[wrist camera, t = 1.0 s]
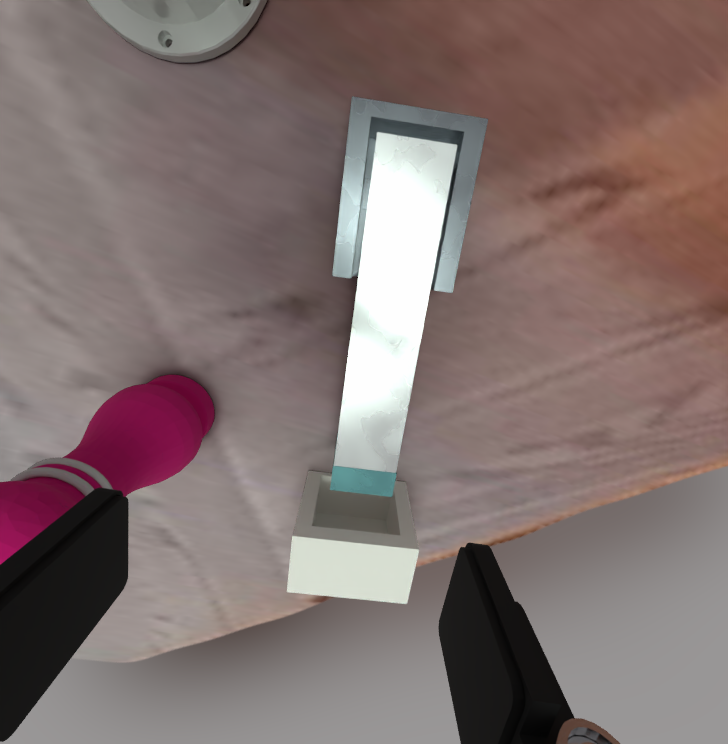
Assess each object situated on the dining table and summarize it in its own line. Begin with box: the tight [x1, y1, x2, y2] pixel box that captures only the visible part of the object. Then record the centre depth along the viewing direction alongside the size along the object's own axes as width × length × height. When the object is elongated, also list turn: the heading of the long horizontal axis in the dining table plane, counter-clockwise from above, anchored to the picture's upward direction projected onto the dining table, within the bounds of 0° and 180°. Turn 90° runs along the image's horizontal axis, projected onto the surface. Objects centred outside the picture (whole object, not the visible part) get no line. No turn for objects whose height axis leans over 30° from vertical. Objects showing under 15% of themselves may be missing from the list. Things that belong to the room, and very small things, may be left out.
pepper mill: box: [0, 375, 215, 564], centre depth 22 cm, size 7×7×20 cm
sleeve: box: [332, 96, 488, 293], centre depth 25 cm, size 10×8×5 cm
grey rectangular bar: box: [330, 132, 457, 497], centre depth 26 cm, size 23×5×5 cm, turn 172°
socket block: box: [287, 471, 419, 604], centre depth 30 cm, size 5×9×8 cm, turn 82°
